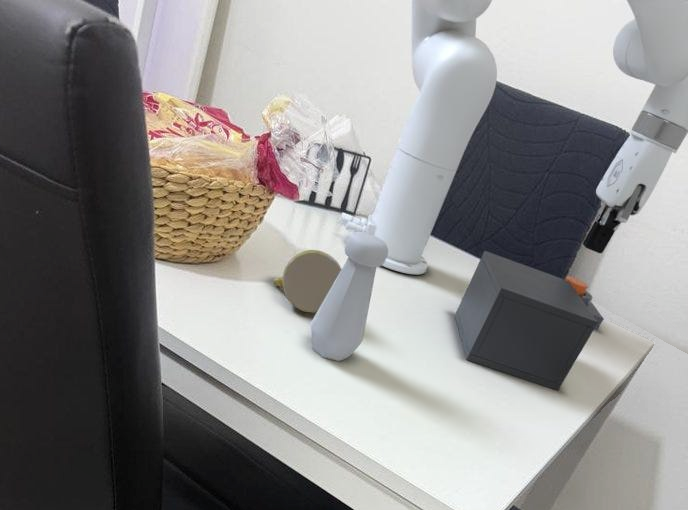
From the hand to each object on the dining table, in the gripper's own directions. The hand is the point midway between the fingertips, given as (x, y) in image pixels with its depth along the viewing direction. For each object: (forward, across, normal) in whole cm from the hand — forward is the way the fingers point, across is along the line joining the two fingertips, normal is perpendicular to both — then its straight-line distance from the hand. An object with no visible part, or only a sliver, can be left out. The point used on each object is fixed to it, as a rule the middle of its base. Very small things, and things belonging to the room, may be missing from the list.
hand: (591, 249), depth 116 cm
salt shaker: (+12, +47, -39) cm, 62 cm away
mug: (+12, +35, -43) cm, 57 cm away
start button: (+7, 0, +1) cm, 7 cm away
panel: (+11, 0, +1) cm, 11 cm away
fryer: (+11, +29, -15) cm, 35 cm away
